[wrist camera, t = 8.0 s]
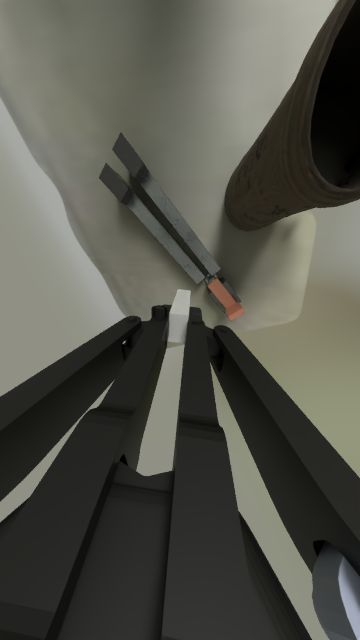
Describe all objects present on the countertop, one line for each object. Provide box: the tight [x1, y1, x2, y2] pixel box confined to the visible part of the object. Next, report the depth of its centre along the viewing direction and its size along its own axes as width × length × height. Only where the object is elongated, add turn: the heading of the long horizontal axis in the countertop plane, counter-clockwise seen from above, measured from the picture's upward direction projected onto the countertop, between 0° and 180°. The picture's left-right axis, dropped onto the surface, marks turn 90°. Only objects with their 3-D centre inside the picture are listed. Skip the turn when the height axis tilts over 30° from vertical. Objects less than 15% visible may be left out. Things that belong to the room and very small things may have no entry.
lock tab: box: [207, 278, 246, 321], centre depth 27 cm, size 8×3×4 cm, turn 43°
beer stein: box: [225, 0, 360, 231], centre depth 15 cm, size 15×11×20 cm
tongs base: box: [112, 133, 241, 313], centre depth 26 cm, size 32×5×6 cm, turn 43°
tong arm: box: [99, 163, 205, 284], centre depth 26 cm, size 23×2×5 cm, turn 44°
